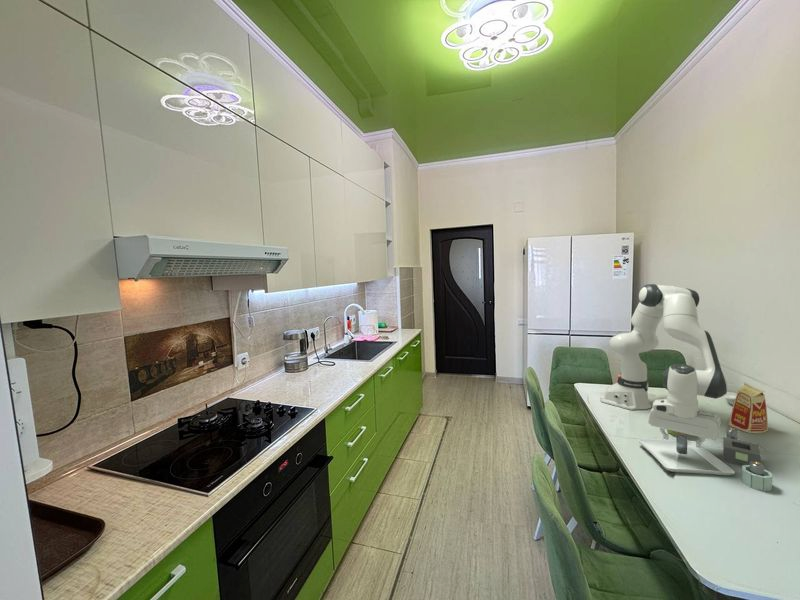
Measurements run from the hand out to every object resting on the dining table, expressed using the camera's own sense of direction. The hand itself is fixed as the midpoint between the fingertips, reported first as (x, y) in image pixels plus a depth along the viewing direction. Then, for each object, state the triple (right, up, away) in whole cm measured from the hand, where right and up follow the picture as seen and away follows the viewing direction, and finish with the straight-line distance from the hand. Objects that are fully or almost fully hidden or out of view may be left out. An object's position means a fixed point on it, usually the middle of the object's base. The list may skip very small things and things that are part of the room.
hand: (681, 442), depth 123 cm
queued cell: (+26, -4, +6) cm, 27 cm away
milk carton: (+46, -2, +19) cm, 50 cm away
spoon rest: (+61, 0, +35) cm, 70 cm away
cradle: (+20, -6, -3) cm, 21 cm away
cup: (+11, -7, -16) cm, 21 cm away
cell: (0, -4, 0) cm, 4 cm away
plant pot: (+14, -4, +18) cm, 23 cm away
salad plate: (0, -7, 0) cm, 7 cm away
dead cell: (+10, -7, -16) cm, 20 cm away
